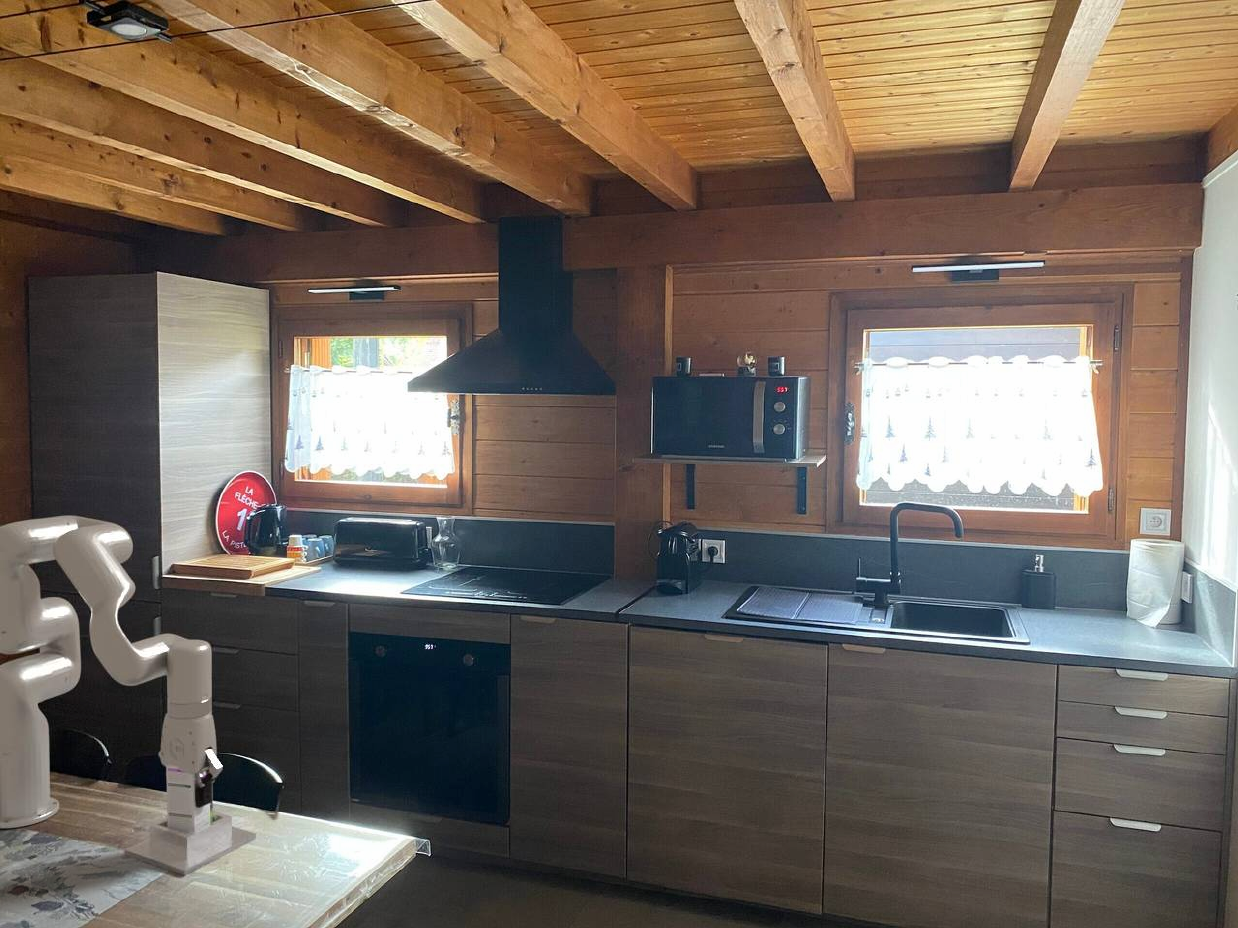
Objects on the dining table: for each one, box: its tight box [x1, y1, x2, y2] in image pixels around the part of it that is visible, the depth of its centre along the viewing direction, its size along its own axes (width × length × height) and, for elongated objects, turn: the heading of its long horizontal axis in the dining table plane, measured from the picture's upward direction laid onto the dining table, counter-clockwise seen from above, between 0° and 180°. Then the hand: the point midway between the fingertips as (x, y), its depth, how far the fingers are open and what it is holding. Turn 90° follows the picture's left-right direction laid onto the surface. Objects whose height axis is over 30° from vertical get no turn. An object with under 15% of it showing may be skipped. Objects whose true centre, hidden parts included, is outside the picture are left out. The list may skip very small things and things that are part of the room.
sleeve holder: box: [123, 810, 257, 877], centre depth 176 cm, size 16×16×5 cm
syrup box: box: [165, 764, 214, 834], centre depth 175 cm, size 6×6×14 cm
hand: (190, 799), depth 176 cm, fingers closed on syrup box, 6 cm apart
